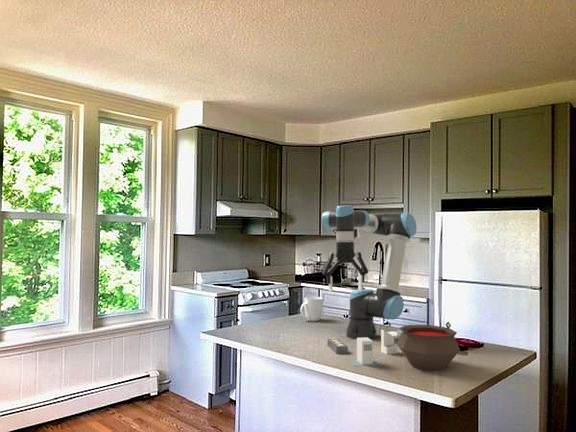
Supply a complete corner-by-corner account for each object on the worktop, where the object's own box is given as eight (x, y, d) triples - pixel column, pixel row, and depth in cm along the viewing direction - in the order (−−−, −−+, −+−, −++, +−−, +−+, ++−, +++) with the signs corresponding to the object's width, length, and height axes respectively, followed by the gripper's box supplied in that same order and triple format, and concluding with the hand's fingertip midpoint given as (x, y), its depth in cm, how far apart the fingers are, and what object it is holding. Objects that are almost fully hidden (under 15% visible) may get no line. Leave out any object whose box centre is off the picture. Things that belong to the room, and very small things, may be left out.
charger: (366, 359, 185) (366, 336, 185) (373, 364, 178) (373, 341, 178) (356, 359, 184) (356, 337, 184) (362, 364, 177) (362, 341, 177)
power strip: (334, 342, 213) (334, 334, 213) (347, 353, 194) (347, 345, 194) (323, 343, 212) (324, 335, 213) (336, 354, 193) (336, 345, 193)
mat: (374, 359, 186) (374, 358, 186) (383, 365, 177) (383, 364, 177) (346, 360, 184) (346, 359, 184) (354, 367, 175) (354, 366, 175)
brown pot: (424, 377, 163) (423, 331, 164) (384, 360, 185) (384, 319, 186) (474, 370, 173) (473, 326, 173) (430, 354, 195) (430, 316, 195)
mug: (306, 323, 258) (306, 300, 258) (295, 320, 266) (295, 297, 267) (326, 320, 266) (326, 298, 267) (314, 317, 275) (315, 296, 276)
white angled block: (373, 348, 195) (381, 329, 197) (388, 357, 198) (396, 339, 201) (378, 350, 191) (386, 331, 194) (394, 359, 195) (402, 340, 197)
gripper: (368, 240, 201) (369, 288, 201) (314, 241, 195) (315, 290, 195) (375, 241, 194) (376, 290, 194) (320, 242, 188) (320, 293, 188)
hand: (345, 290), depth 194 cm, fingers open, 13 cm apart
